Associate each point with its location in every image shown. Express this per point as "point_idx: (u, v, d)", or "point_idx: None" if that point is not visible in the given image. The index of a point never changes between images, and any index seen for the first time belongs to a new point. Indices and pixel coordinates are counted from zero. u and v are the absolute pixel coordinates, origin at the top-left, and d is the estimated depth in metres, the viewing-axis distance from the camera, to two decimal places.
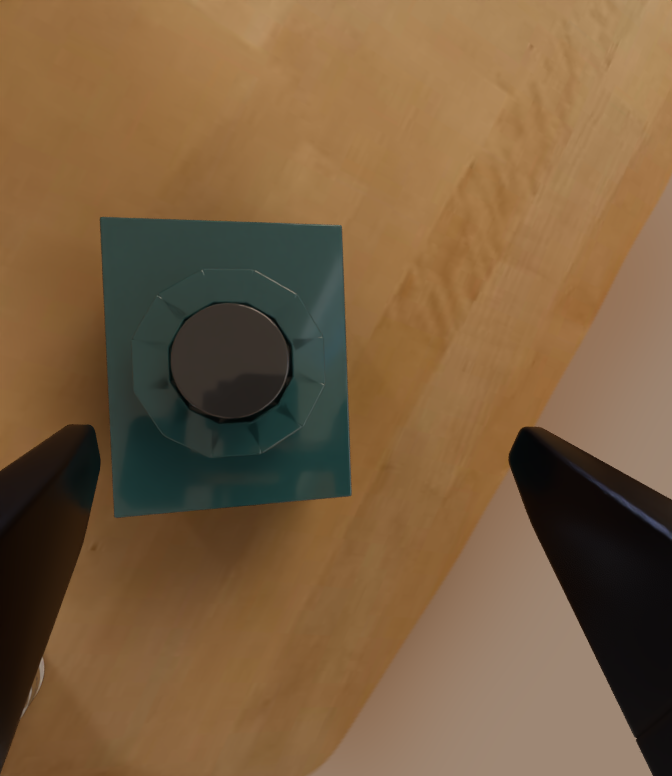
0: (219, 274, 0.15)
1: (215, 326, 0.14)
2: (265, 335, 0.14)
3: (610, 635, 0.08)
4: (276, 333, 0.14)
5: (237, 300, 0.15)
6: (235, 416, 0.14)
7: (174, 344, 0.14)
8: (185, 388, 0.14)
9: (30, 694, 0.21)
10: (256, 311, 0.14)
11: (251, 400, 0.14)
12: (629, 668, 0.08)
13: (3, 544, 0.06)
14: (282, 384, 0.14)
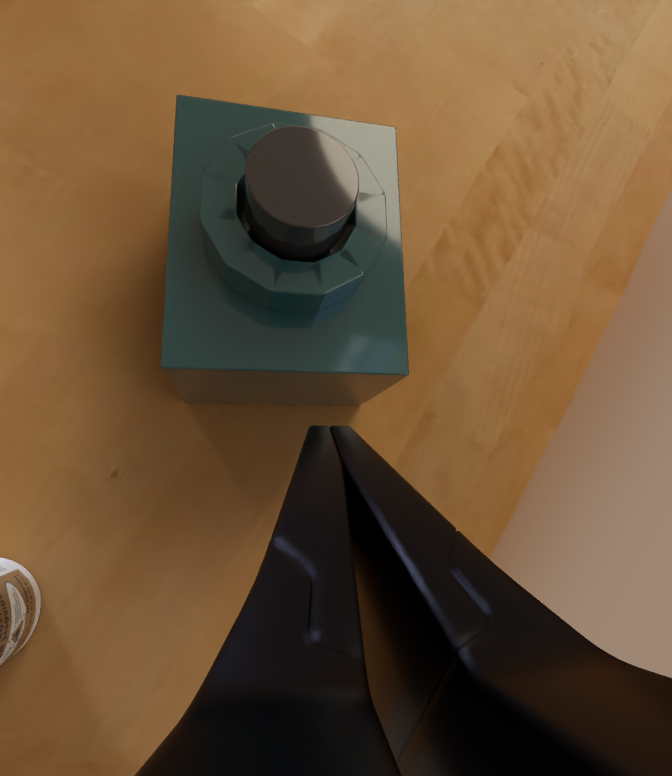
0: None
1: (290, 143, 0.14)
2: (337, 158, 0.14)
3: (371, 662, 0.07)
4: (347, 157, 0.15)
5: None
6: (306, 225, 0.14)
7: (250, 153, 0.14)
8: (258, 193, 0.14)
9: (22, 629, 0.18)
10: (329, 136, 0.15)
11: (322, 213, 0.14)
12: (381, 699, 0.07)
13: None
14: (352, 203, 0.14)
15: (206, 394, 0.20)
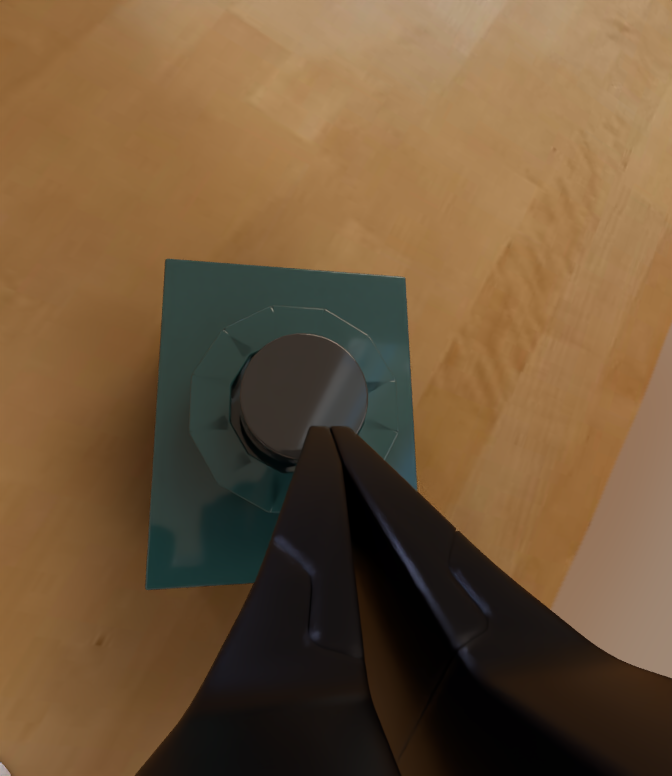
0: (288, 311, 0.15)
1: (290, 356, 0.13)
2: (343, 368, 0.13)
3: (371, 662, 0.07)
4: (355, 367, 0.13)
5: None
6: None
7: (245, 373, 0.12)
8: (254, 422, 0.12)
9: None
10: (334, 343, 0.13)
11: None
12: (381, 700, 0.07)
13: None
14: (361, 423, 0.13)
15: None
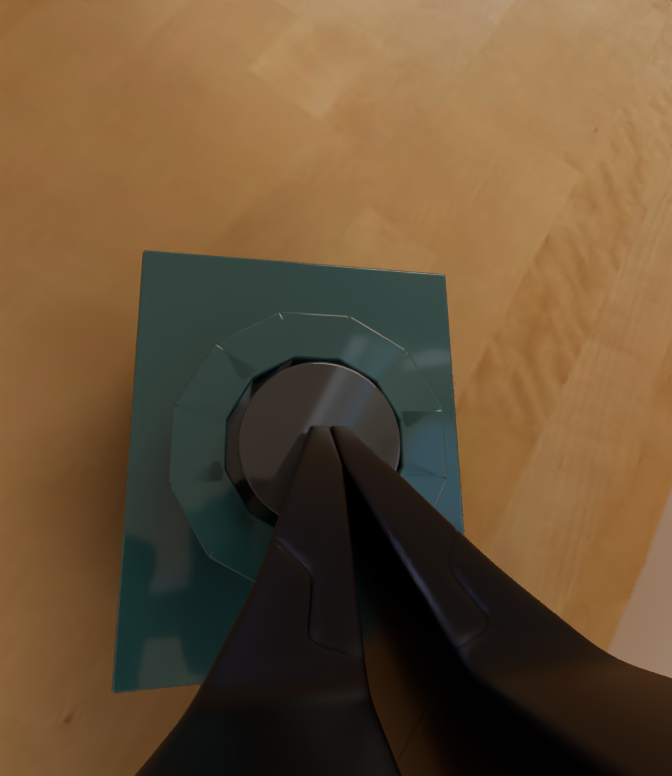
0: (303, 319, 0.11)
1: (302, 392, 0.10)
2: (369, 406, 0.10)
3: (371, 661, 0.07)
4: (384, 404, 0.10)
5: (326, 355, 0.11)
6: None
7: (245, 415, 0.10)
8: (257, 480, 0.09)
9: None
10: (357, 374, 0.10)
11: None
12: (381, 699, 0.07)
13: None
14: None
15: None
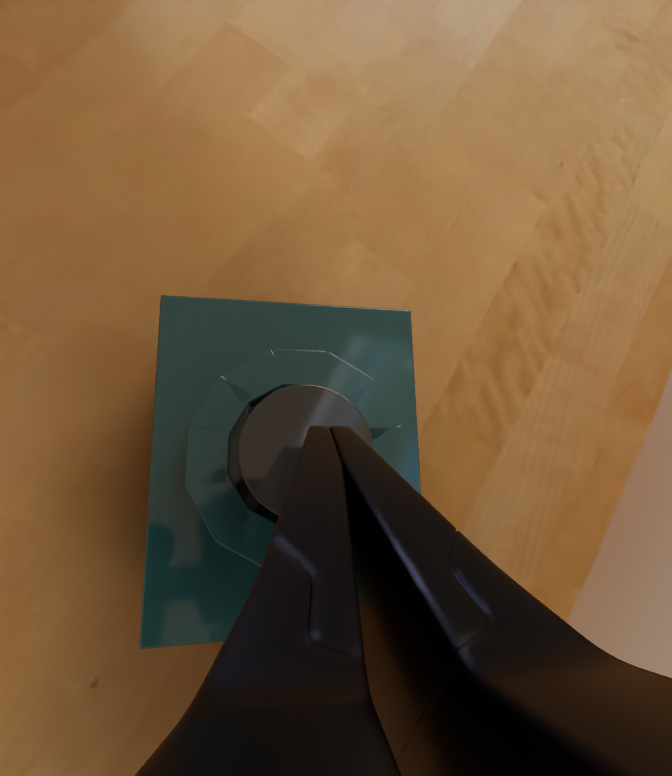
0: (290, 354, 0.14)
1: (292, 409, 0.12)
2: (347, 421, 0.12)
3: (371, 661, 0.07)
4: (359, 419, 0.12)
5: (308, 383, 0.14)
6: None
7: (244, 429, 0.12)
8: (253, 482, 0.11)
9: None
10: (337, 393, 0.12)
11: None
12: (381, 699, 0.07)
13: None
14: None
15: None
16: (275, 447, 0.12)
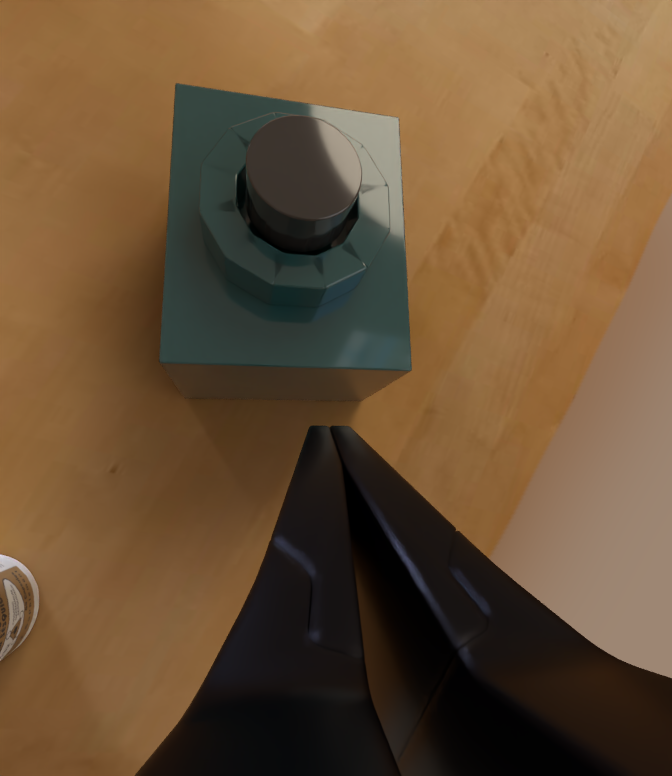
0: None
1: (291, 133, 0.14)
2: (339, 148, 0.14)
3: (371, 662, 0.07)
4: (350, 147, 0.14)
5: None
6: (307, 217, 0.13)
7: (251, 143, 0.14)
8: (259, 184, 0.13)
9: (21, 626, 0.17)
10: (331, 126, 0.14)
11: (324, 204, 0.14)
12: (381, 700, 0.07)
13: None
14: (355, 195, 0.14)
15: (206, 389, 0.20)
16: (277, 159, 0.14)
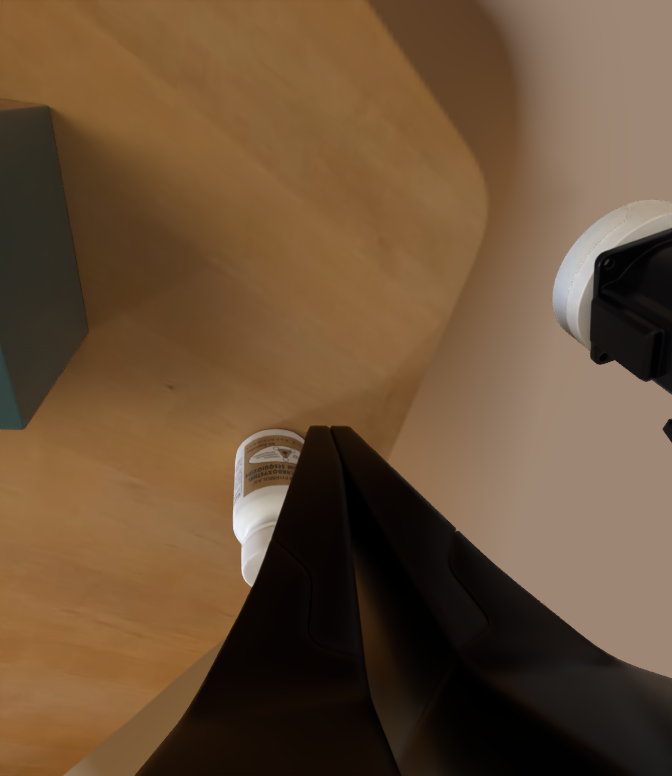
0: None
1: None
2: None
3: (371, 662, 0.07)
4: None
5: None
6: None
7: None
8: None
9: (284, 447, 0.24)
10: None
11: None
12: (381, 700, 0.07)
13: None
14: None
15: (66, 333, 0.18)
16: None
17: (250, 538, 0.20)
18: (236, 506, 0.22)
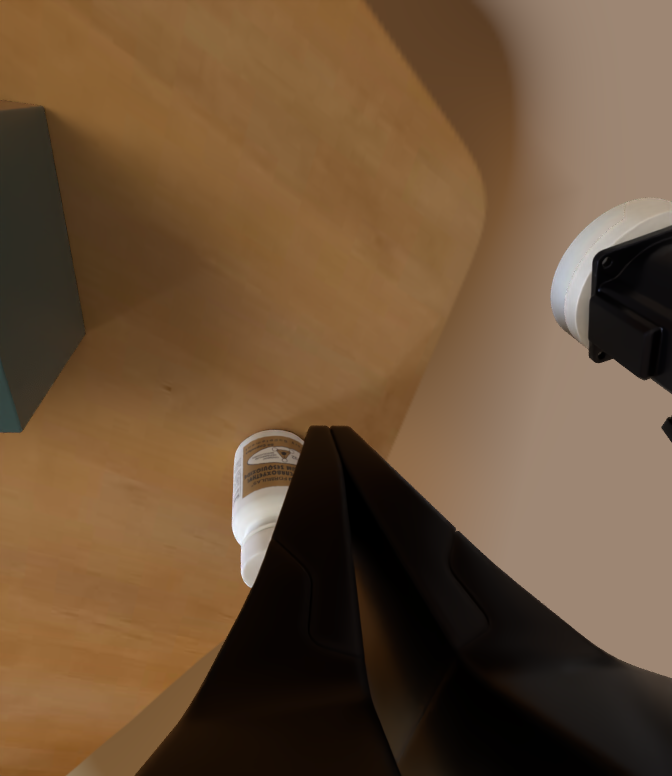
0: None
1: None
2: None
3: (371, 661, 0.07)
4: None
5: None
6: None
7: None
8: None
9: (283, 447, 0.24)
10: None
11: None
12: (381, 699, 0.07)
13: None
14: None
15: (63, 334, 0.18)
16: None
17: (249, 539, 0.20)
18: (235, 507, 0.22)
